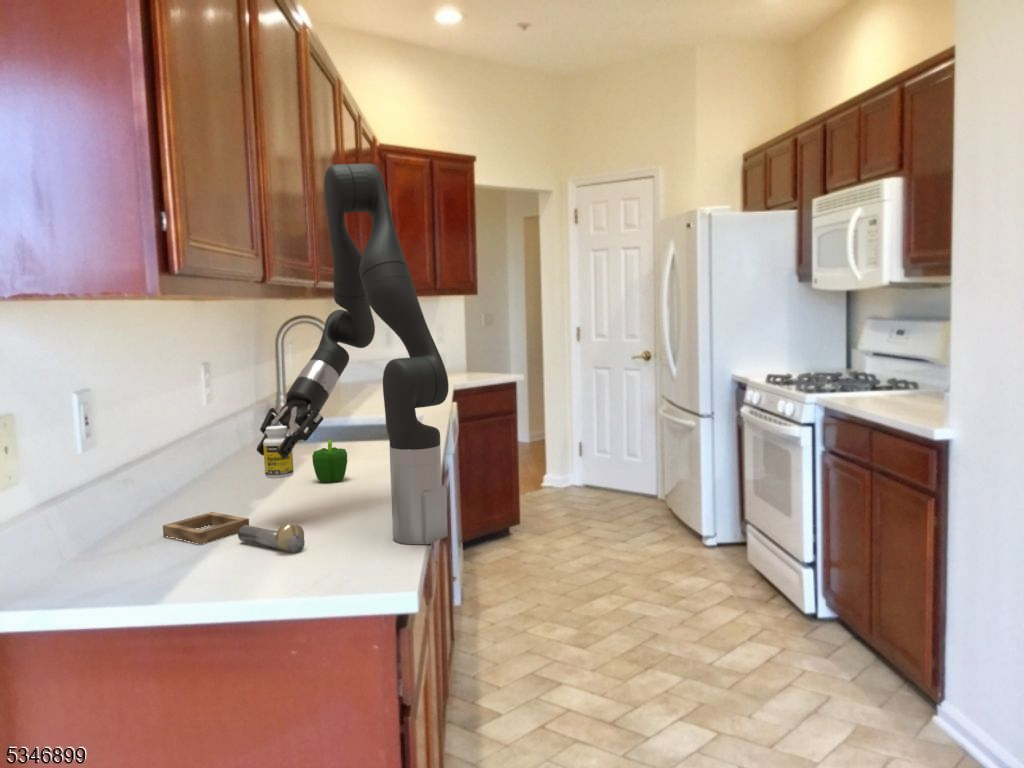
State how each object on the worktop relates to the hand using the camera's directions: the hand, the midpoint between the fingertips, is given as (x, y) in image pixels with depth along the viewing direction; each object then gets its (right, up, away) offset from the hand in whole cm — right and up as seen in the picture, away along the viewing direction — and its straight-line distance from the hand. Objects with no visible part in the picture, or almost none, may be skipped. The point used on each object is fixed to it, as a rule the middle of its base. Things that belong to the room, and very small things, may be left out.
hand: (271, 453), depth 152 cm
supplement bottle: (+1, -5, +2) cm, 5 cm away
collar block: (-12, -15, -2) cm, 19 cm away
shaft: (+4, -16, -12) cm, 20 cm away
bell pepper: (+2, -11, +42) cm, 43 cm away
